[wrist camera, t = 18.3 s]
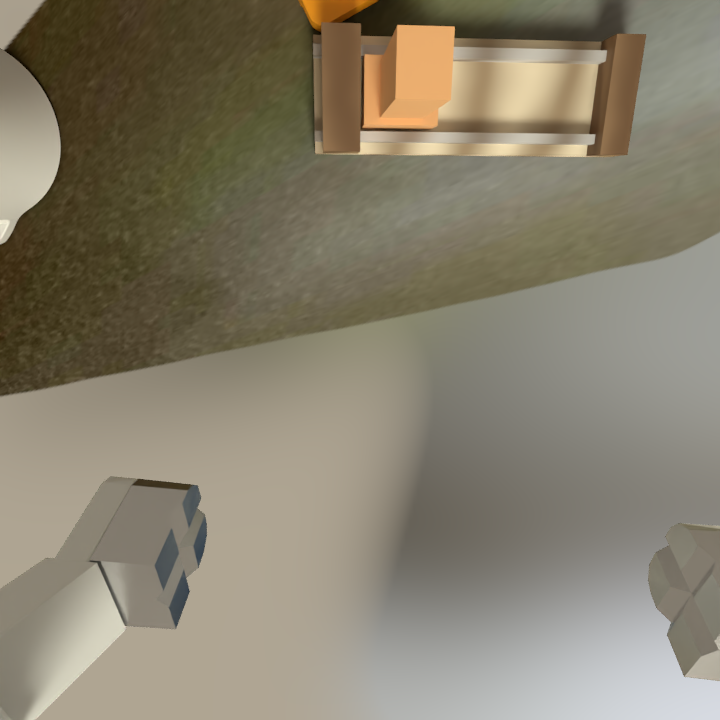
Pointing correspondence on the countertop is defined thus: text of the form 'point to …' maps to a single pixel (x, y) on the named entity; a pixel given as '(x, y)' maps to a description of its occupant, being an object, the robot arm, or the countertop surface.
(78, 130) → the countertop surface
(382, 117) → the slider
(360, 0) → the bracket
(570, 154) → the rail board
